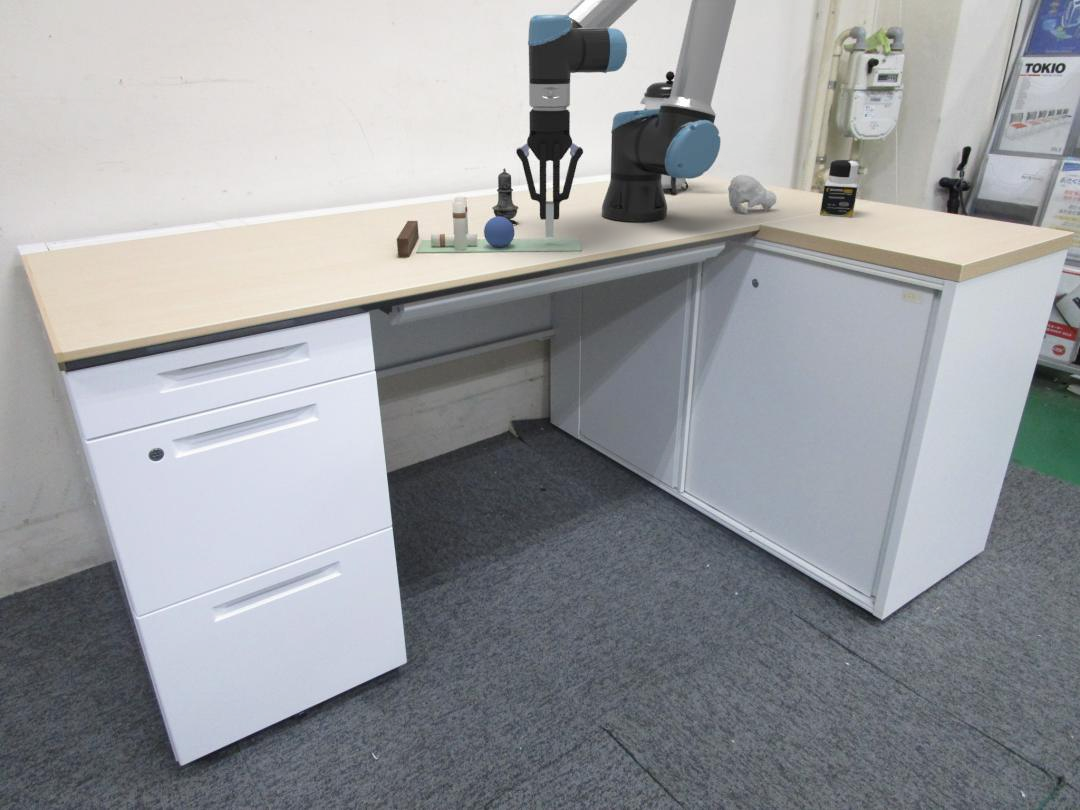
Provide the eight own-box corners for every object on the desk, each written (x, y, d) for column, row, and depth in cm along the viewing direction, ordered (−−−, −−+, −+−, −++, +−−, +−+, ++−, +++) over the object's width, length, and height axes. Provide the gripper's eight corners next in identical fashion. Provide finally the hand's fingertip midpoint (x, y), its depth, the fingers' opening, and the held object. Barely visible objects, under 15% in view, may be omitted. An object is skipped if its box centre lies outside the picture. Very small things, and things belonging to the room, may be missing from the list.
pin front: (476, 232, 149) (431, 232, 148) (476, 236, 146) (430, 237, 146) (477, 243, 150) (432, 244, 149) (477, 248, 148) (431, 249, 147)
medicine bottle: (819, 215, 174) (828, 162, 169) (821, 209, 180) (829, 158, 175) (852, 217, 172) (861, 163, 167) (853, 211, 178) (862, 159, 173)
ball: (477, 227, 149) (499, 246, 152) (478, 239, 144) (501, 258, 147) (497, 205, 147) (519, 225, 149) (498, 217, 142) (521, 236, 144)
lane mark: (577, 239, 154) (577, 238, 154) (581, 251, 145) (581, 250, 145) (421, 240, 153) (421, 240, 153) (416, 253, 144) (416, 252, 144)
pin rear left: (467, 248, 148) (465, 201, 144) (466, 251, 145) (464, 204, 141) (455, 248, 147) (452, 201, 144) (454, 251, 145) (451, 204, 141)
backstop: (418, 237, 156) (417, 220, 154) (408, 257, 141) (407, 238, 140) (409, 237, 156) (407, 220, 154) (398, 257, 141) (396, 238, 140)
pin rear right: (469, 241, 152) (467, 196, 149) (468, 244, 150) (466, 198, 146) (457, 241, 152) (454, 196, 148) (456, 244, 150) (453, 199, 146)
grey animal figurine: (728, 172, 177) (773, 175, 180) (721, 208, 181) (765, 211, 184) (740, 176, 172) (786, 179, 175) (733, 214, 175) (778, 216, 178)
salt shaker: (515, 226, 165) (514, 170, 160) (489, 225, 166) (487, 169, 161) (521, 221, 170) (520, 166, 165) (496, 220, 171) (494, 166, 166)
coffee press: (647, 197, 196) (654, 72, 183) (628, 187, 211) (633, 70, 198) (708, 194, 200) (720, 71, 187) (686, 184, 214) (695, 70, 201)
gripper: (514, 110, 135) (516, 240, 145) (586, 109, 135) (583, 239, 145) (514, 107, 141) (516, 232, 152) (583, 106, 142) (580, 231, 152)
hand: (549, 235), depth 148 cm, fingers closed
